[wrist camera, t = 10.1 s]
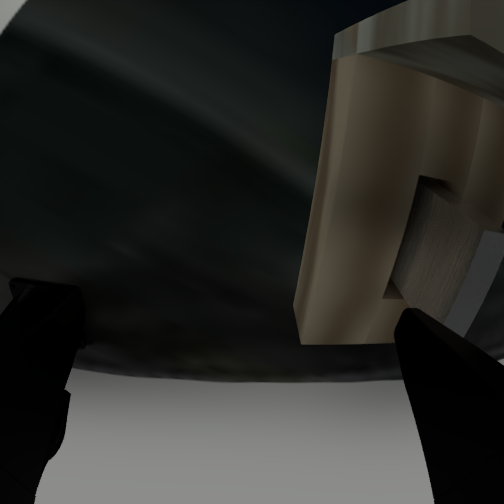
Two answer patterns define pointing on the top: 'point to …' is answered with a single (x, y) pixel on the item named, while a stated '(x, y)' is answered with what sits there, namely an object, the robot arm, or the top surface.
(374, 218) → the post base
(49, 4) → the top surface
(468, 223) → the bracket plate
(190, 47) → the top surface
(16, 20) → the top surface
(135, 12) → the top surface
